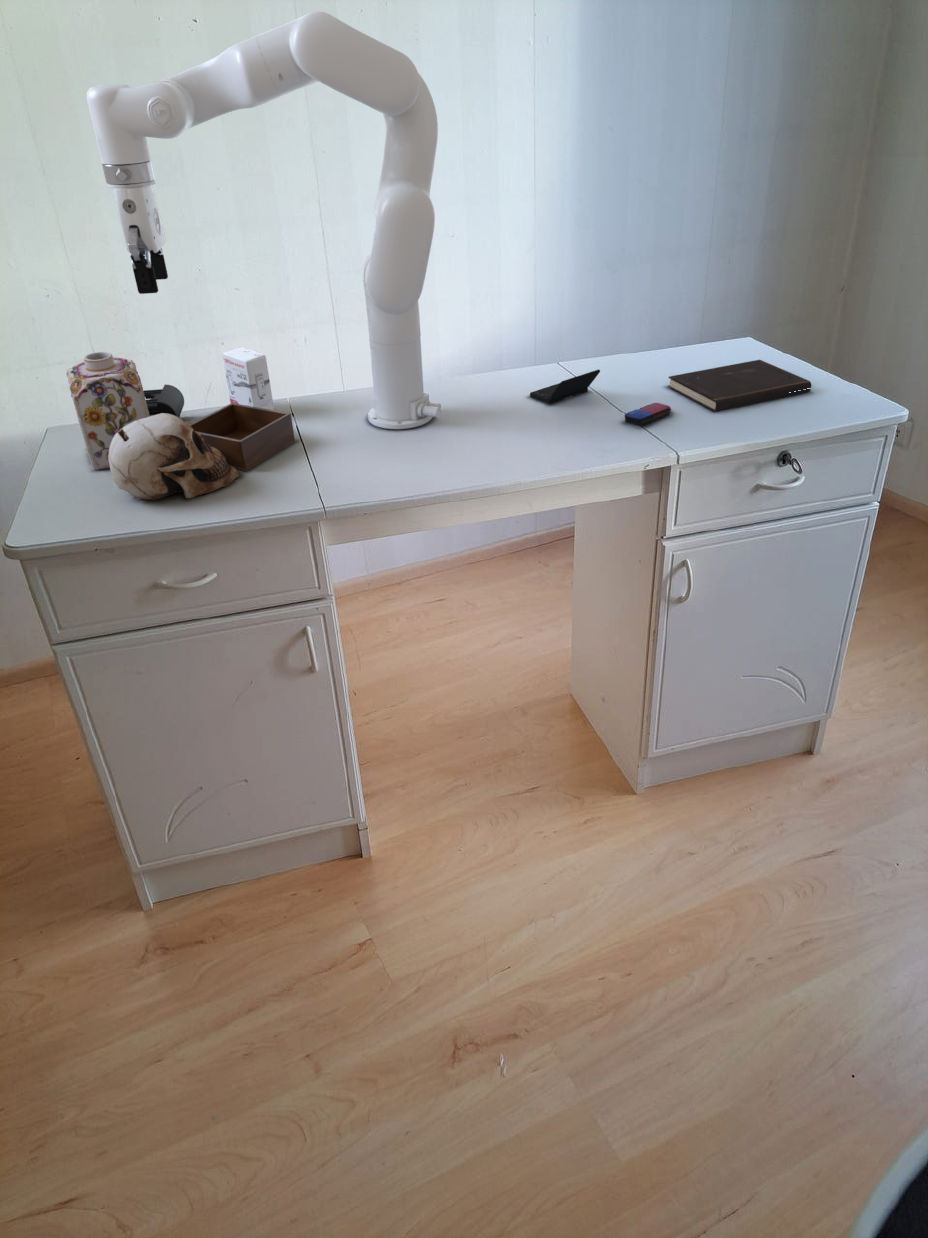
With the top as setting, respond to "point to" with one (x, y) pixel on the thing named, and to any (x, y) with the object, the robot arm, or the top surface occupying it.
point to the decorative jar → (105, 401)
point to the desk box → (246, 433)
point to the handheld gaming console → (565, 388)
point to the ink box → (248, 378)
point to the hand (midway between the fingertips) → (153, 285)
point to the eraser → (647, 414)
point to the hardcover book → (738, 385)
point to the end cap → (164, 401)
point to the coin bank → (166, 459)
